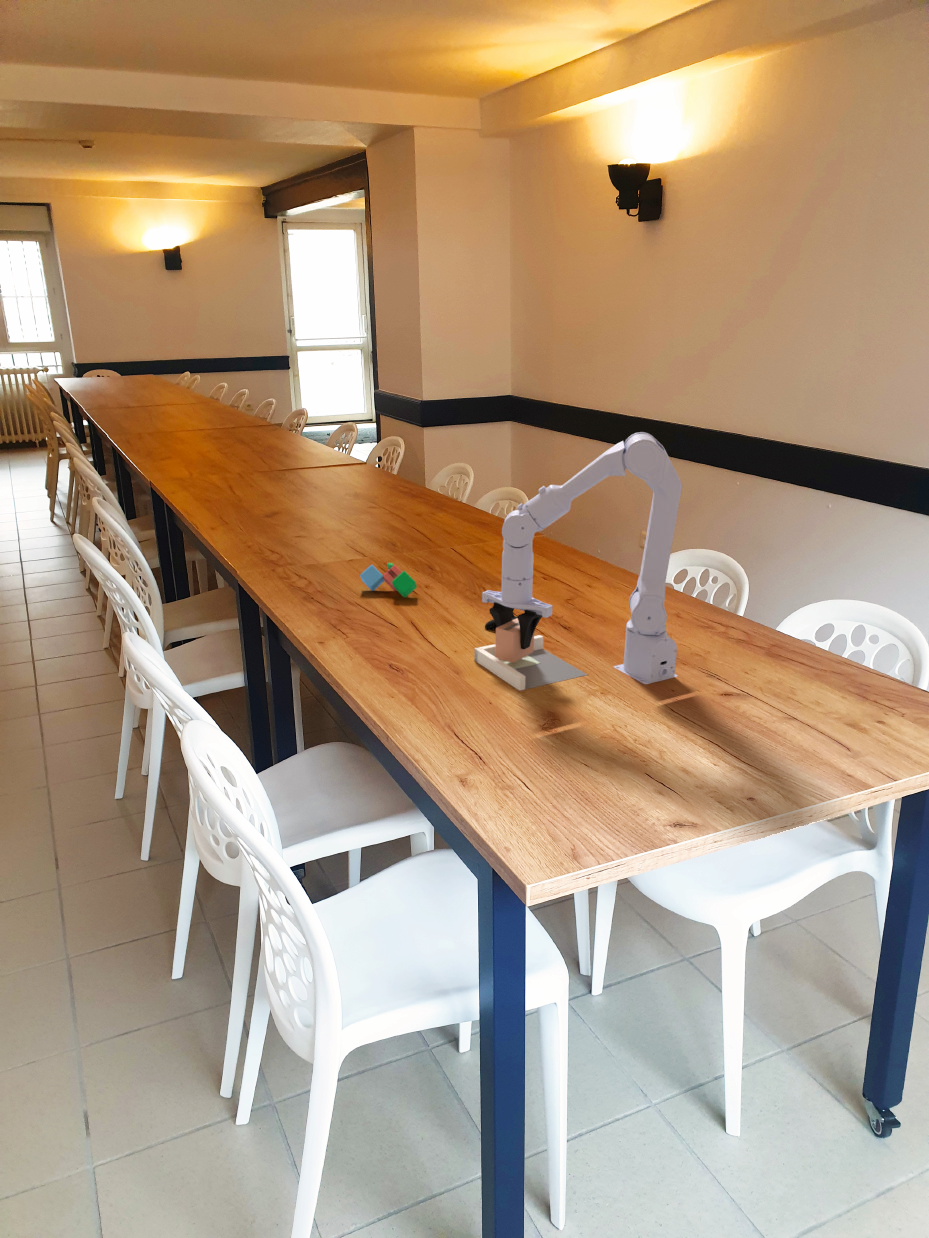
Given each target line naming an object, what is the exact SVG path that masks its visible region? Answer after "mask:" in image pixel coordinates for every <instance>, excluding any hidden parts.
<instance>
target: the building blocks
mask: <svg viewBox="0 0 929 1238" xmlns="http://www.w3.org/2000/svg"><path fill="white" fill-rule="evenodd" d="M386 567H387V571H386V572H385V573H384V574H382V572H380V571H379V570H378V569H377V567H375V565H374V564H369V565H368V566H367V567H366V568H365V569H364V570H362V571H361V572H360V573H359V576H360V579H361V581H362V583H363V584H365V585H366V587H368V589H369V590H371V592H374V591H375V590H377V589H378V588H379V587H380V586H381V585H382V584H383V583H384V582H385V583H386V584H387V585H388V586H389V587H390V589H392V590H393V591H394V592H398V593H399V594H400V595H401V596H402V597H403V598H405V599H406V598H407V597H408V596H409V595H410V594H412V592H413V591H414V590H415V589H417V588H418V586H417V582H416V581H415V580H414V579H413V578H412V576H410V575H409V573H408V572H407V571H406V570H401V569H400V568H399V567H398V566H397V565H395V564H394V563H392V562H387V564H386Z"/></svg>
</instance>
